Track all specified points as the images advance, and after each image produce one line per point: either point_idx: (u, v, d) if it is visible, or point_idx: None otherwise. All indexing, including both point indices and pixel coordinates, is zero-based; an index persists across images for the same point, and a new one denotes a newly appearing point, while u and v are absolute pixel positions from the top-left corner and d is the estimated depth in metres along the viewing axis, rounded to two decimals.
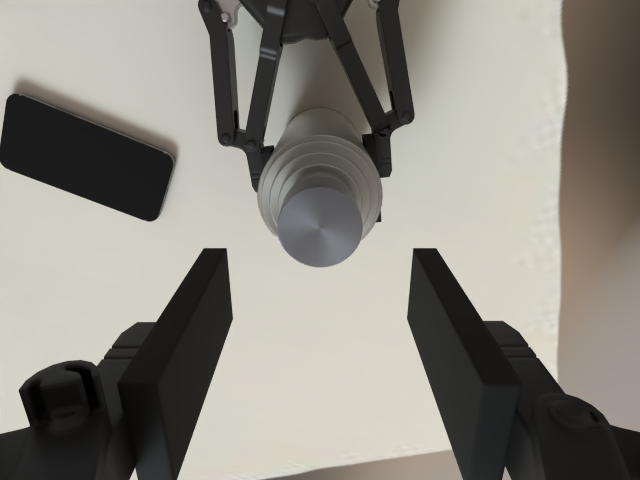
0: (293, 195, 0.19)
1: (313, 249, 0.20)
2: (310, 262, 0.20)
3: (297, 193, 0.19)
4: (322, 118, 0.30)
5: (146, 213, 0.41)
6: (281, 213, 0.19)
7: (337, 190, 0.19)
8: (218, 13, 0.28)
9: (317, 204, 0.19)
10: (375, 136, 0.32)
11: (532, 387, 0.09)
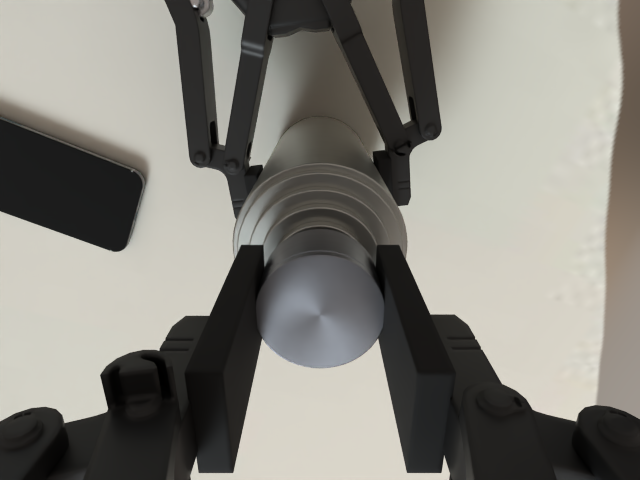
0: (279, 266, 0.12)
1: (310, 343, 0.13)
2: (305, 361, 0.13)
3: (285, 263, 0.12)
4: (323, 133, 0.23)
5: (112, 242, 0.34)
6: (260, 293, 0.12)
7: (347, 258, 0.12)
8: None
9: (316, 280, 0.12)
10: (390, 155, 0.25)
11: (471, 377, 0.09)
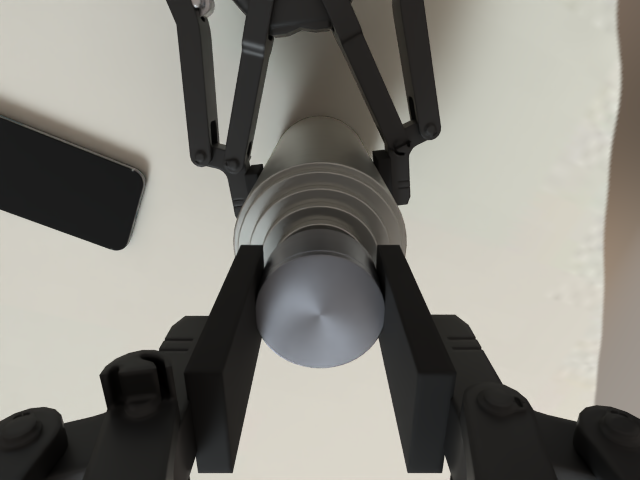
0: None
1: (352, 301, 0.13)
2: (373, 291, 0.12)
3: (301, 364, 0.13)
4: (323, 132, 0.24)
5: (112, 241, 0.35)
6: (339, 364, 0.13)
7: (259, 330, 0.13)
8: None
9: (293, 339, 0.13)
10: (390, 154, 0.25)
11: (472, 377, 0.09)
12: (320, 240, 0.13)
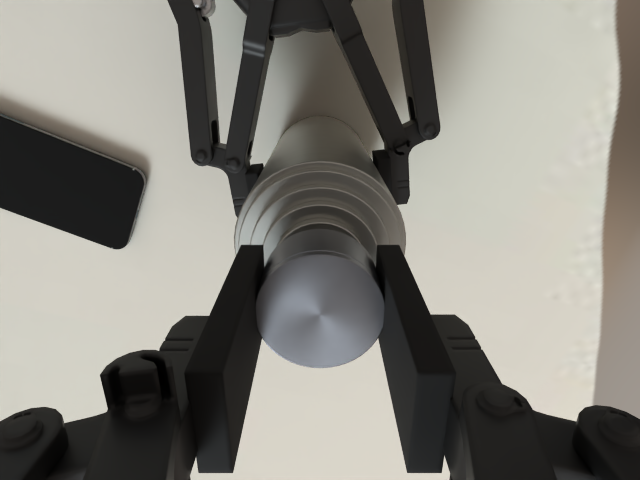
0: (377, 283, 0.12)
1: (286, 302, 0.13)
2: (264, 296, 0.13)
3: (380, 289, 0.13)
4: (323, 132, 0.24)
5: (113, 240, 0.35)
6: (353, 265, 0.12)
7: (374, 339, 0.13)
8: None
9: (359, 315, 0.13)
10: (390, 154, 0.25)
11: (471, 377, 0.09)
12: None
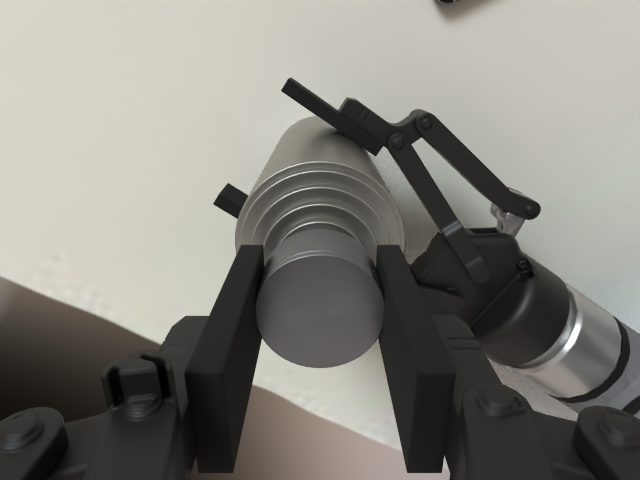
0: (377, 283, 0.12)
1: (286, 302, 0.13)
2: (264, 296, 0.13)
3: (380, 290, 0.13)
4: None
5: None
6: (353, 265, 0.12)
7: (374, 340, 0.13)
8: (516, 214, 0.26)
9: (359, 315, 0.13)
10: None
11: (471, 377, 0.09)
12: None
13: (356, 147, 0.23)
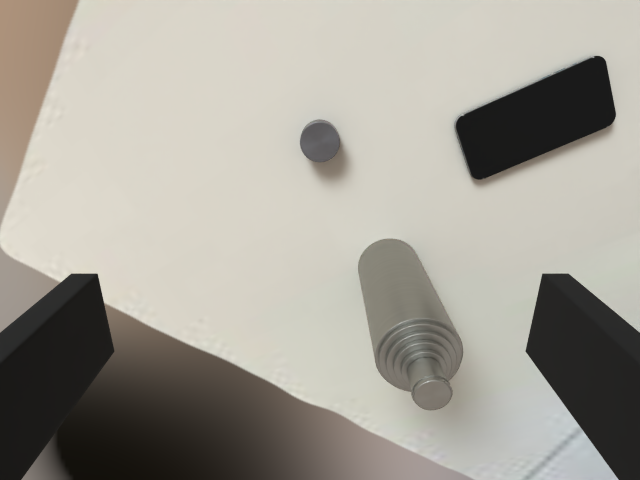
0: (336, 132, 0.42)
1: (309, 138, 0.42)
2: (303, 136, 0.42)
3: (337, 134, 0.42)
4: None
5: (466, 122, 0.43)
6: (329, 125, 0.42)
7: (336, 152, 0.43)
8: None
9: (331, 142, 0.43)
10: None
11: None
12: None
13: (428, 286, 0.39)
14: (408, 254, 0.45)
